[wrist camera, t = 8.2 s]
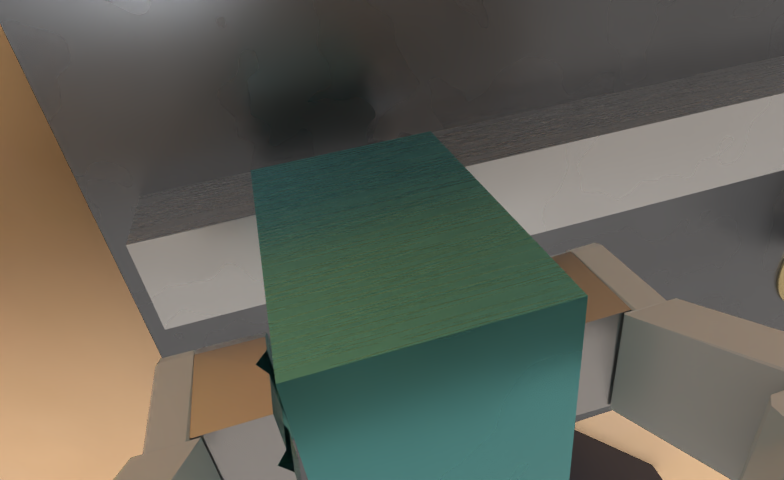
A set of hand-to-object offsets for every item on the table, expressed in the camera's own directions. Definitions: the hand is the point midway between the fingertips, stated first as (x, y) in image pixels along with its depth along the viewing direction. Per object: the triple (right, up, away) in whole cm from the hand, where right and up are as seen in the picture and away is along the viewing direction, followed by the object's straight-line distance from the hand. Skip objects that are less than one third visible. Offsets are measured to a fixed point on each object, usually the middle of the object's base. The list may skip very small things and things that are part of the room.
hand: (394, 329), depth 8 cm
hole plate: (+6, +3, +8) cm, 11 cm away
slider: (-1, 0, +5) cm, 5 cm away
